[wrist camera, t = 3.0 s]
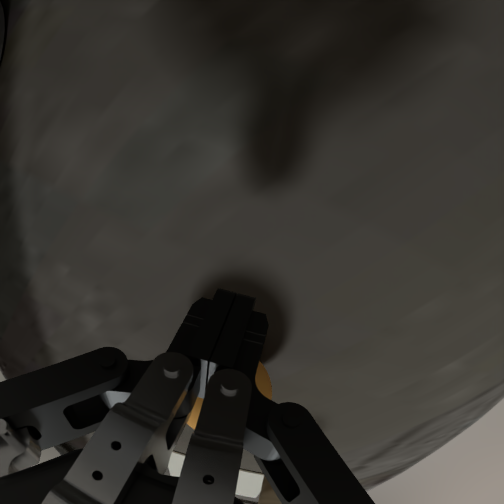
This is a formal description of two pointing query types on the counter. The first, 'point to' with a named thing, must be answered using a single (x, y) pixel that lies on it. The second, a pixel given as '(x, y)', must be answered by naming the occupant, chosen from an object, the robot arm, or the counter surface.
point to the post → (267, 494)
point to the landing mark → (246, 483)
